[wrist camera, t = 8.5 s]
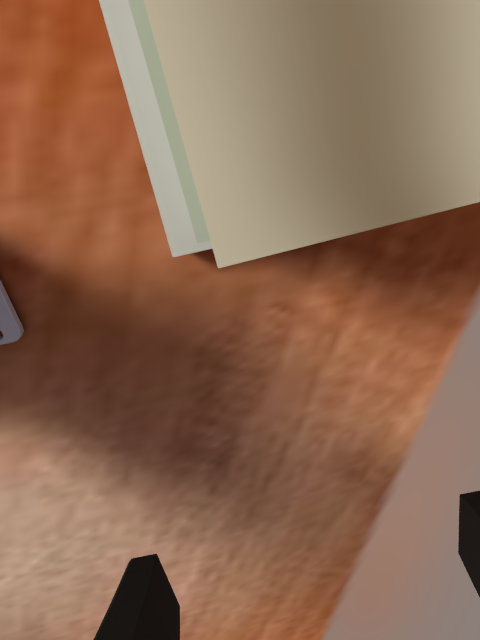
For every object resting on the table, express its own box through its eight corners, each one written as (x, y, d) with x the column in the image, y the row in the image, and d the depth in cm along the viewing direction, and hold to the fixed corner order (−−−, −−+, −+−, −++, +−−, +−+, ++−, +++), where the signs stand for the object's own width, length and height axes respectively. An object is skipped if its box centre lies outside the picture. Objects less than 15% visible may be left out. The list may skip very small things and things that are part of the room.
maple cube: (214, 215, 12) (218, 268, 8) (161, 16, 10) (125, -66, 6) (379, 172, 12) (480, 201, 8) (361, -40, 10) (484, -170, 6)
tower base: (178, 240, 18) (172, 257, 16) (106, -18, 14) (85, -46, 12) (387, 194, 17) (413, 204, 15) (372, -84, 14) (403, -126, 11)
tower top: (199, 225, 15) (197, 243, 13) (135, -9, 12) (116, -40, 10) (392, 177, 15) (424, 187, 12) (372, -76, 12) (410, -124, 10)
